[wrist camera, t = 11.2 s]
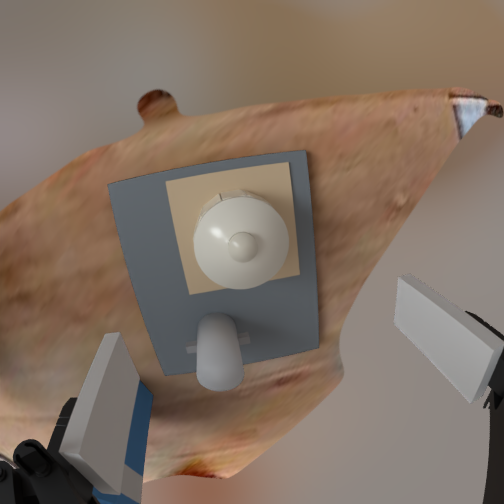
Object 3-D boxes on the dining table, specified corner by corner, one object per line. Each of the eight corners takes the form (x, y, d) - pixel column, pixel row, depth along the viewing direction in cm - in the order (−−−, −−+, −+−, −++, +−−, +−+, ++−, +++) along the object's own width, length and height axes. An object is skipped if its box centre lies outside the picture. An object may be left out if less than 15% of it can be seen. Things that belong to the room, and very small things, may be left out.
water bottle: (110, 360, 34) (61, 530, 11) (166, 395, 37) (158, 561, 14) (83, 391, 35) (40, 533, 12) (134, 422, 38) (117, 562, 15)
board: (165, 369, 36) (159, 422, 27) (111, 183, 28) (74, 196, 19) (316, 342, 37) (341, 389, 29) (302, 150, 29) (338, 150, 21)
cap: (179, 226, 29) (173, 243, 23) (243, 173, 28) (252, 178, 22) (230, 283, 31) (235, 310, 26) (291, 235, 31) (309, 253, 25)
